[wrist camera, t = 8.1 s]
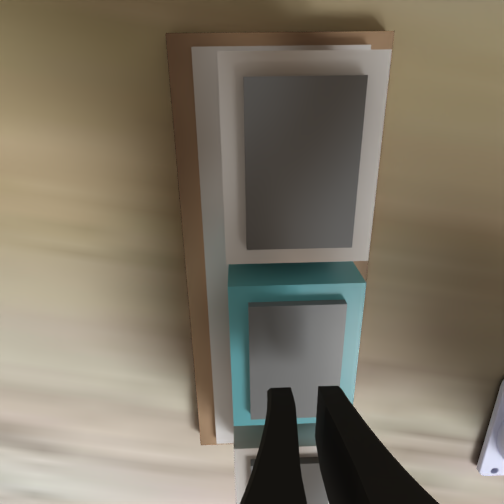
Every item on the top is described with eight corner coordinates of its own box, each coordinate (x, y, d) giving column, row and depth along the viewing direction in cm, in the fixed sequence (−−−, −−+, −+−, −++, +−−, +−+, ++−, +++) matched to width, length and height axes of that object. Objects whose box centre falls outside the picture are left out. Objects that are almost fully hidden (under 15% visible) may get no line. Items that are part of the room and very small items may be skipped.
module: (328, 222, 19) (369, 286, 13) (321, 331, 21) (353, 428, 15) (230, 224, 18) (227, 291, 13) (234, 334, 21) (233, 432, 15)
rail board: (387, 33, 17) (493, 1, 10) (345, 429, 25) (385, 559, 19) (168, 35, 16) (119, 4, 10) (201, 434, 25) (188, 568, 18)
